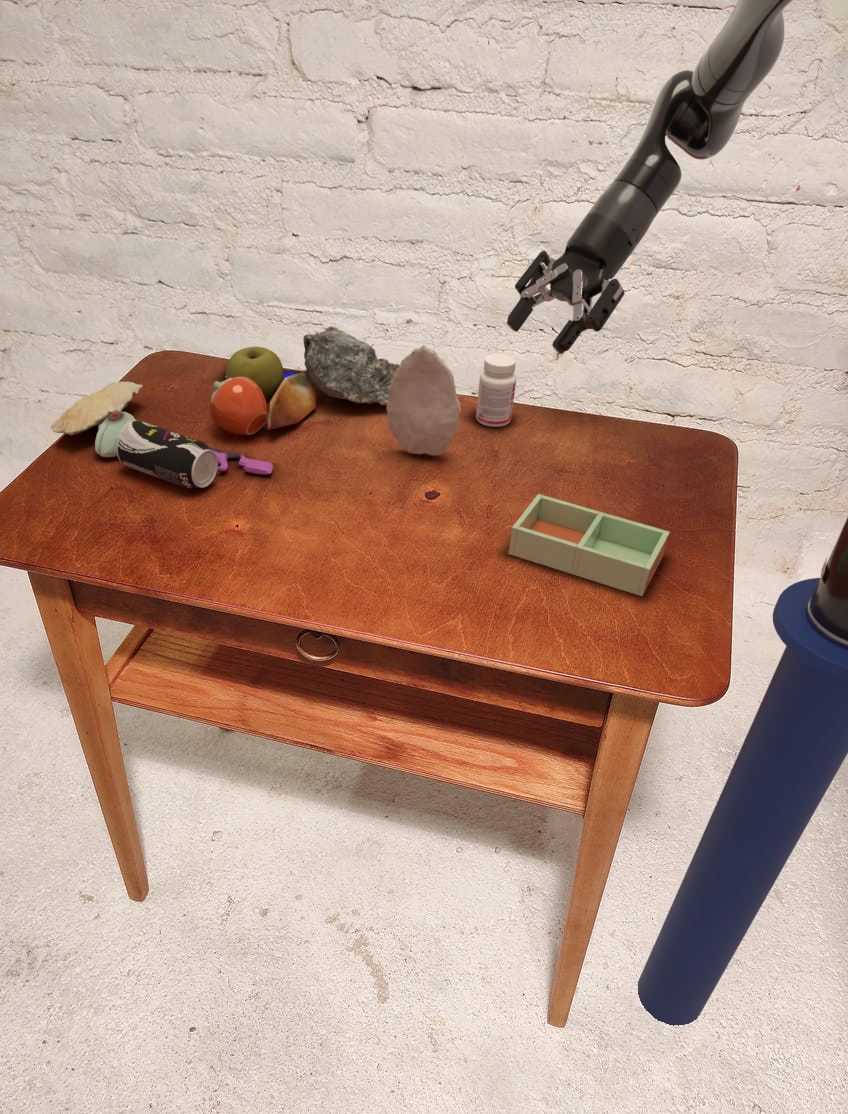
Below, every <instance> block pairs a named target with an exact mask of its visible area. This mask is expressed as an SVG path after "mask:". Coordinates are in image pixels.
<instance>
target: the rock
mask: <svg viewBox="0 0 848 1114" xmlns="http://www.w3.org/2000/svg"><path fill="white" fill-rule="evenodd" d="M302 339H303V347H304V352H303V358H304V366H305V371H306V377H307V379H308V380H310V381H311V382H312V383H313V384H314V385H315V387H316V388H318V389H319V390H321V392H323V393H324V394H325V395H327V396H329V397H331V398H332V397H333V398H337V399H342V400H347V401H349V402H351V403H352V402H354V403H355V404H361V405H362V404H373V403H377V404H379V405H380V406H387V403H388V398H389V389H390V385H391V381H392V379H393V377H394V375H395V373H396V371H397V369H398V368H399V366H400V364H399V363H394V362H389V360H388V359H386V358H378V357H377V354H376V349H374V348H373V346H371V345H370V344H369V343H368V342H366V341H364V340H360V339H357V338H356V336H353V335H351V334H349V333H347V332H345V331H343V330H341V329H339V328H337V327H335V326H329V327H327V328H325V330H323V331H320V332H317V333H315V334H312V333H308V334H304V336H303V338H302Z"/></svg>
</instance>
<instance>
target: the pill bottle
mask: <svg viewBox="0 0 848 1114" xmlns="http://www.w3.org/2000/svg"><path fill="white" fill-rule="evenodd" d="M516 363H517V361H516V358H515V357H514V356H512V355H509V354H505V353H491V354H489V355H487V356H485V358H484V362H483V370H482V372H481V373H480V375H479V382H478V392H477V400H476V401H477V402H476V410H475V419H476V421H477V422H478V423H479V424H481V425H483V426H486V427H491V428H499V427H505V426H507V425H508V424H509V423H510V422H511V420H512V416H513V415H512V414H513V406H514V401H515V393H516V384H517V375H516V373H515V371H516V365H517V364H516Z"/></svg>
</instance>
